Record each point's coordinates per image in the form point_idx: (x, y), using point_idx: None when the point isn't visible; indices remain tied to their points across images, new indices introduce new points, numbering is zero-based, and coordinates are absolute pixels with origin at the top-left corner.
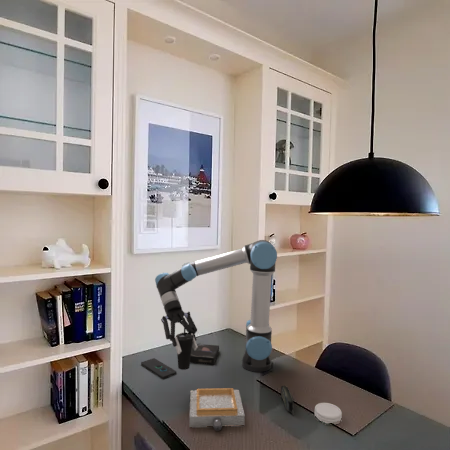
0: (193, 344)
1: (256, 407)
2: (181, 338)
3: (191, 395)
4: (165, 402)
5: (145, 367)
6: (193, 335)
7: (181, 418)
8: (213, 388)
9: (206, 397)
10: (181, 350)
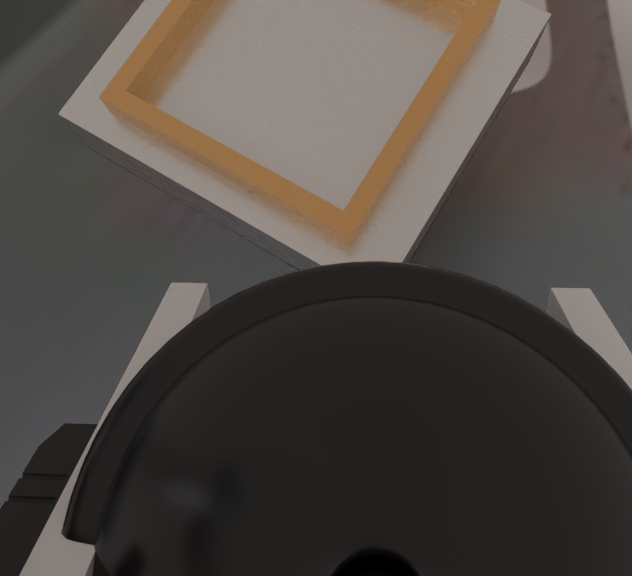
0: None
1: (69, 25)
2: (593, 403)
3: (412, 228)
4: None
5: None
6: (29, 555)
7: (533, 159)
8: (230, 170)
9: (326, 146)
10: (557, 294)
